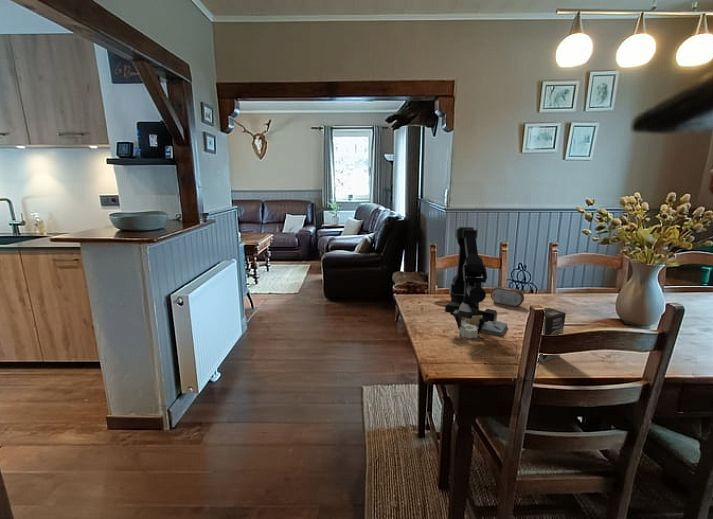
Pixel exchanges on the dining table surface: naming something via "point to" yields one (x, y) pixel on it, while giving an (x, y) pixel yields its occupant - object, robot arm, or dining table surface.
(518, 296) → the tin
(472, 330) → the loose gear
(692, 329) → the dining table surface
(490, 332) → the gear board
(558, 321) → the coffee box
